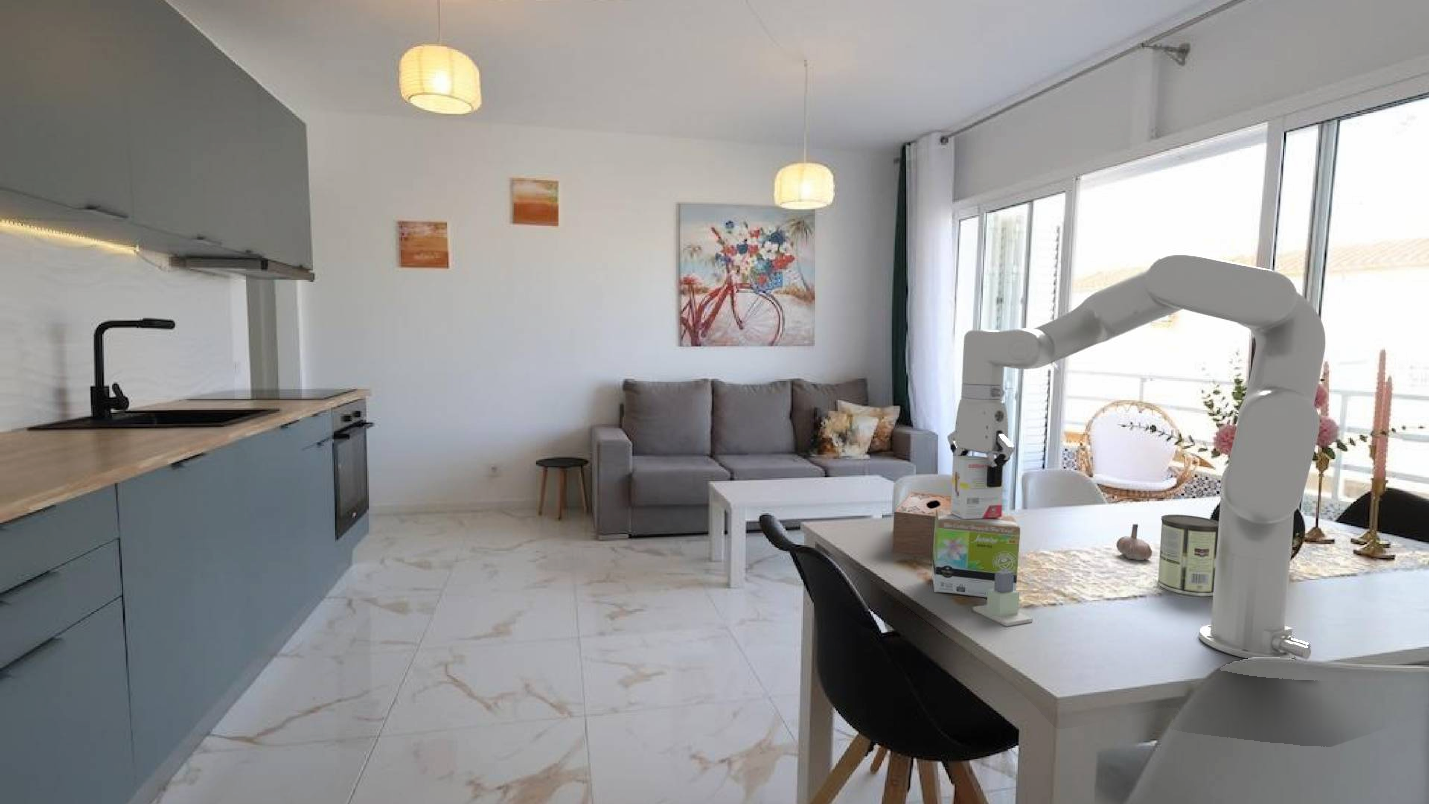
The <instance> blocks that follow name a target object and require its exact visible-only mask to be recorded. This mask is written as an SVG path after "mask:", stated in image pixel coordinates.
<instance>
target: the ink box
mask: <svg viewBox="0 0 1429 804" xmlns="http://www.w3.org/2000/svg"><path fill="white" fill-rule="evenodd" d="M994 457H995V459H996V456H994ZM988 466H991V465H990V463H989V460H988V458H987V456H986V455H968V456H953V455H952V466H951V467H952V470H951V471H952V472H951V494H950V496H951V514H953V515H955V516H958V517H960V518H962V519H980V518H999V517H1002V515H1003V495H1004V494H1003V489H1004V469H1003V470H1002V485H1001V487H987V468H988Z"/></svg>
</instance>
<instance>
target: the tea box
mask: <svg viewBox="0 0 1429 804" xmlns="http://www.w3.org/2000/svg"><path fill="white" fill-rule="evenodd" d="M1020 540H1021V527H1020V525H1019V524H1018V522H1017V521H1016V519H1015V518H1014V516H1013V515H1007V514H1006V515H1005V514H1002V517H999V518H980V519H962V518H960V517H958V516H955V515H953V514H951V511H950V510H940V509H936V516H935V531H934V546H933V558H932V562H931V563H932V564H931V566H932V567H931V579H932V584H933V591H934V593H947V594H948V593H949V594H957V595H965V596H972V597H980V598H987V595H988V589H994V584H995V572H996V571H1003V570H1008V571H1011V572H1014V582H1013V590H1016V591H1017V582H1018V581H1017V580H1018V566H1019V552H1020Z"/></svg>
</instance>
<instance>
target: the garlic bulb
mask: <svg viewBox="0 0 1429 804" xmlns="http://www.w3.org/2000/svg"><path fill="white" fill-rule="evenodd" d="M1138 529H1139V524H1138V523H1133V524H1132V529H1131V534H1130V536H1122V537H1120V538H1118V540H1117V541H1116V549H1117V551H1119V552H1120V553H1121V554H1122V555H1124V556H1125V557H1126V558H1128V559H1129V560H1135V559H1137V560H1136V561H1144V559H1146V560H1148V559H1150V558H1151V557H1152V555H1153V551H1152V548H1151V546H1150V545H1149V544H1148V543H1147V542H1146V541H1145V540H1143V539H1141V538H1137V537H1138Z"/></svg>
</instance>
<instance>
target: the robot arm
mask: <svg viewBox="0 0 1429 804" xmlns="http://www.w3.org/2000/svg"><path fill="white" fill-rule="evenodd" d="M1181 310H1185V311H1188V312H1193V313H1197V314H1201V315H1205V316H1209V317H1213V318H1217V319H1221V320H1225V321H1230V322H1233V323H1237V324H1238V325H1241V326H1243V327H1245V328H1247V329H1248V330H1250V331H1251V332H1252V334H1253V337H1254V340H1255V350H1254V355H1253V356H1254V357H1253V361H1252V364H1251V371H1250V372H1251V373H1250V376H1249V380H1248V384H1247V388H1246V392H1245V396H1244V397H1243V401H1242V403H1241V405H1240V407H1239V409H1238V412H1237V424H1236V428H1235V432H1234V438H1233V442H1232V446H1231V450H1230V454H1229V459H1228V463H1227V466H1226V467H1225V468H1224V470H1223V472H1222V476H1221V481H1220V501H1219V503H1220V504H1219V517H1218V522H1219V529H1218V542H1217V553H1216V566H1215V579H1214V592H1213V596H1212V606H1211V607H1212V608H1211V617H1210V619H1211V620H1210V624H1208V625H1204V626H1202V627H1199V629H1198V637H1199V640H1201V641H1202V643H1204V644H1206V645H1208V646H1210V647H1211V648H1213V649H1215V650H1217V651H1219V652H1223V653H1226V654H1228V655H1232V656H1235V657H1239V658H1243V659H1247V658H1252V657H1280V658H1293V659H1294V658H1295V657H1298V658H1301V659H1304V660H1308V659H1309V658H1310V656H1311V654H1312V649H1311V648H1312V647H1311V643H1309V642H1307V641H1306V642H1305V641H1304V640H1300V639H1299V640H1298V639H1296V638H1294V636H1293V635H1292V634H1293V627H1290V626H1286V625H1285V624H1286V615H1287V605H1288V603H1287V601H1288V591H1289V580H1290V569H1291V567H1290V566H1291V559H1292V558H1291V557H1292V551H1293V550H1292V549H1293V548H1292V547H1293V533H1294V532H1293V531H1294V519H1295V518H1294V516H1295V515H1294V514H1295V512H1296V511H1297V510H1298V507H1299V506H1300V504H1301V501H1302V498H1303V496H1304V493H1305V488H1306V486H1307V483H1308V482H1307V481H1308V479H1309V478H1308V477H1309V473H1310V470H1311V466H1312V463H1313V459H1314V454H1315V451H1316V446H1317V442H1318V439H1319V432H1320V424H1321V422H1320V415H1319V412H1318V410H1317V408H1316V406H1315V400H1316V398H1317V397H1316V396H1317V392H1318V388H1319V384H1320V377H1321V374H1322V368H1323V363H1324V358H1325V350H1326V332H1325V328H1324V325H1323V322H1322V320H1321V317H1320V315H1319V314H1318V312H1317V311H1316V308H1314V306H1313V305H1312V304H1311V303H1310V301H1308V299H1306V298H1305V297H1304V296H1302V295H1301V294H1300V293H1299V292H1298V291H1297V288H1296V287H1295V284H1294V283H1293V282H1292V280H1291V279H1290V278H1288V277H1287V276H1286V275H1285V274H1282V273H1281V272H1278V271H1276V270H1272V269H1268V268H1264V267H1263V268H1262V267H1260V266H1259V267H1257V266H1254V265H1253V266H1252V265H1247V264H1243V263H1238V262H1232V261H1228V260H1222V259H1218V258H1213V257H1209V256H1208V257H1207V256H1204V255H1199V254H1194V253H1190V252H1181V251H1179V252H1172V253H1168V254H1165V255H1163V256H1162V257H1159V258H1158V259H1157V260H1156V261H1154V262H1153V264H1152V265H1151V266H1150V267H1149V268H1148V269H1145V270H1143V271H1140V272H1138V273H1137V274H1135V275H1132V276H1130V277H1128V278H1126V279H1123V280H1121V281H1119V282H1116V283H1114V284H1111V285H1110V286H1108V287H1106V288H1102V289H1101V290H1098V291H1096V292H1094V293H1093V294H1091V295H1090V296H1088V297H1087V298H1086V299H1084V300H1083V301H1082V302H1081V304H1080V305H1078V306H1076V307H1075V308H1074V309H1072V310H1071V311H1068V313H1065V314H1063V315H1062V316H1060V317H1058V318H1055V319H1053V320H1052V321H1049V322H1046V323H1044V324H1042V325H1039V326H1037V327H1035V328H1015V329H1014V328H1013V329H1008V330H996V329H973V330H972V329H971V330H969V331H966V333H965V335H964V337H963V351H962V355H963V356H962V373H961V375H962V376H961V396H960V399H959V403H958V406H957V407H958V408H957V412H956V419H955V426H954V431H952V432H951V433H950V434H948V435H947V441H948V443H949V447H950V451H951V452H952V457H953V456H970V453H971V452H975V453H980V454H985V456H987V458H988V460H989V463H990V465H991V466H988V468H987V487H1001V485H1002V470H1003V471H1004V467H1005V466H1007V465H1006V464H1007V462H1008V461H1009V460H1011V456H1012V455H1013V454H1014V451H1015V445H1014V444H1013V443H1012V442H1011V441H1010V440H1009V422H1008V421H1009V418H1008V411H1007V405H1006V402H1005V401H1003V397H1004V396H1005V393H1006V392H1005V390H1004V375H1005V374H1004V373H1005V372H1004V371H1005V367H1006V368H1011V369H1016V370H1031V369H1039V368H1043V367H1045V366H1048V365H1050V364H1053V363H1055V362H1057V361H1060V360H1062V359H1064V358H1067V357H1069V356H1072V355H1074V354H1077V353H1079V352H1081V351H1084V350H1086V349H1088V348H1091V347H1093V346H1095V345H1098V344H1100V343H1101V344H1102V343H1104V342H1105V343H1106V342H1107V341H1110V340H1112V339H1114V338H1117V337H1118V336H1121V335H1123V334H1125V333H1126V334H1127V333H1129V332H1131V331H1133V330H1135V329H1137V328H1140V327H1142V326H1145V325H1147V324H1149V323H1153V322H1154V321H1157V320H1159V319H1163V318H1165V317H1166V316H1169V315H1172V314H1175V313H1177V312H1179V311H1181ZM995 457H996V459H995Z"/></svg>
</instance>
